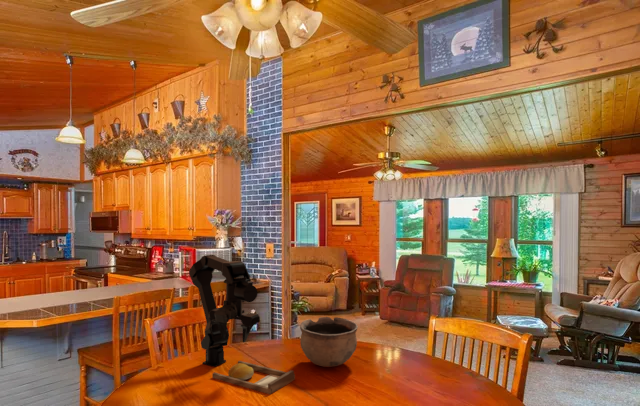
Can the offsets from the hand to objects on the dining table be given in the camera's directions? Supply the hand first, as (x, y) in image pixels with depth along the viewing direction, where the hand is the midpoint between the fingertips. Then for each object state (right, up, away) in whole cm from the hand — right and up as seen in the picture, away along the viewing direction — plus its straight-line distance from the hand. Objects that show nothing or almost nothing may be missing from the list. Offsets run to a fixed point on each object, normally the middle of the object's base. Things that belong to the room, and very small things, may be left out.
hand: (233, 340), depth 151 cm
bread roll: (+7, -12, -5) cm, 15 cm away
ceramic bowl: (+35, -12, +9) cm, 38 cm away
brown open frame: (+8, -12, -5) cm, 15 cm away
